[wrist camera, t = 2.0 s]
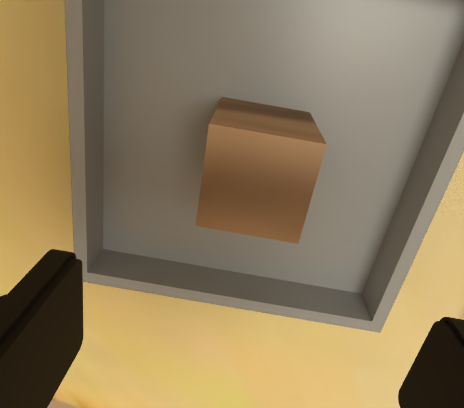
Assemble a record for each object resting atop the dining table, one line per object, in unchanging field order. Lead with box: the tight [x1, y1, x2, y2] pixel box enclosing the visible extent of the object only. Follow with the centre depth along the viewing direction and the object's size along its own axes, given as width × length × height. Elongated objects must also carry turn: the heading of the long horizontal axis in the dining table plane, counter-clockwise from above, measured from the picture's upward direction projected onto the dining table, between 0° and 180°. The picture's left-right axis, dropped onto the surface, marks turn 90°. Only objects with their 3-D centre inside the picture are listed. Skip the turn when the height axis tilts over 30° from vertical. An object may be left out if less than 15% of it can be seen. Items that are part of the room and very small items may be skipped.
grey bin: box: [65, 0, 464, 333], centre depth 21 cm, size 20×20×4 cm
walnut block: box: [195, 97, 327, 244], centre depth 19 cm, size 5×5×6 cm
